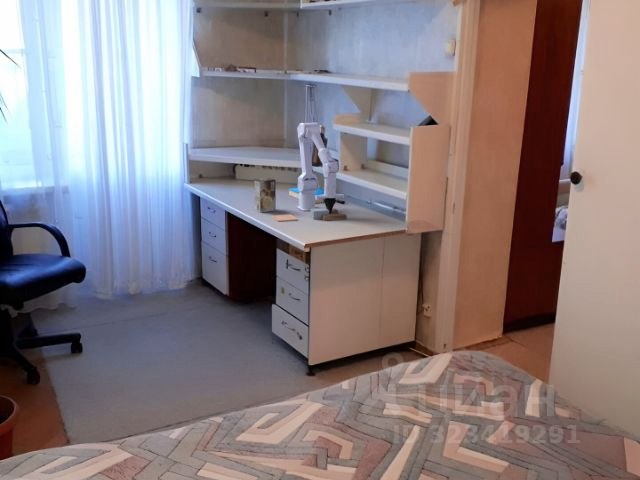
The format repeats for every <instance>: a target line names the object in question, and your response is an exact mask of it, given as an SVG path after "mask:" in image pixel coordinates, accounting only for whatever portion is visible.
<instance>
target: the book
mask: <svg viewBox="0 0 640 480" xmlns="http://www.w3.org/2000/svg"><path fill="white" fill-rule="evenodd" d="M299 193H300V191H299V190H298V187H294V188H293V187H292V188H288V195H289V196H291V197H294V198H295V199H299ZM322 194H324V189H322V188H319V187H318V189H317V190H316V192H315V195H322ZM336 200H337V201H338V200H339V198H336ZM321 202H322V203H324V201H323V199H320V200H316V199H315V204H318V203H319V204H320V203H321Z"/></svg>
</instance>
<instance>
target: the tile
mask: <svg viewBox="0 0 640 480" xmlns="http://www.w3.org/2000/svg"><path fill="white" fill-rule="evenodd" d="M271 218H272V219H274V220H275V221H276V222H280V223H281V222H293V221H296V222H297V221H299V219H298V218H297V217H296V216H294V215H292V214H291V213H290V214H280V215H279V214H277V215H276V214H275V215H271Z"/></svg>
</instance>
